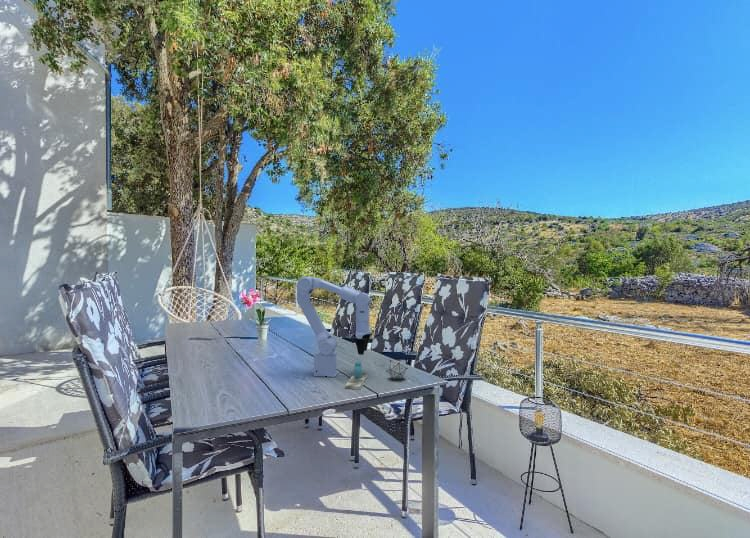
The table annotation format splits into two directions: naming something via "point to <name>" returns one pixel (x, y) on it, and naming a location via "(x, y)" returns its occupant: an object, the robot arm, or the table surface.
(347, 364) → the table surface
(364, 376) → the board
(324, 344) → the robot arm
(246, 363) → the table surface
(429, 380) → the table surface
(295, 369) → the table surface
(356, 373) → the pawn
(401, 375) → the game die
